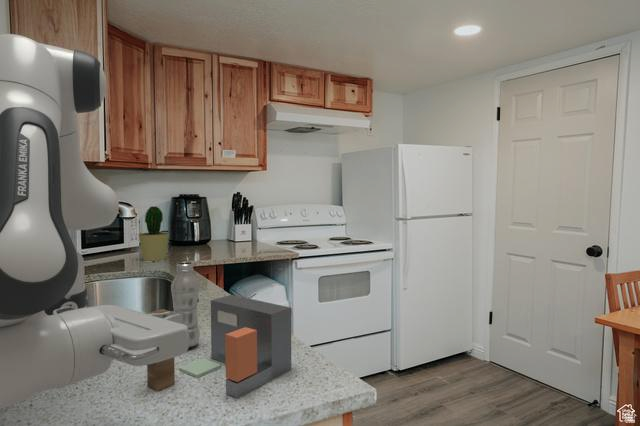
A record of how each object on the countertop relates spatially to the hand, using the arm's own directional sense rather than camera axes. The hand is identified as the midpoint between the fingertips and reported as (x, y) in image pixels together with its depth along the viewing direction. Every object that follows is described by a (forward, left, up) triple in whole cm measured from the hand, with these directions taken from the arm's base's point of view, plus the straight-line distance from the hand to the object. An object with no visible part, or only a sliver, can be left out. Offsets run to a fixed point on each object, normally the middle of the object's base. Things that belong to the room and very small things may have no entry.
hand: (176, 317), depth 64 cm
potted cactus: (-146, +88, -17) cm, 172 cm away
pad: (-14, +15, -17) cm, 27 cm away
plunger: (0, +14, -14) cm, 20 cm away
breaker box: (-8, +19, -17) cm, 27 cm away
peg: (-14, +6, -17) cm, 23 cm away
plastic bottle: (-27, +21, -17) cm, 39 cm away
